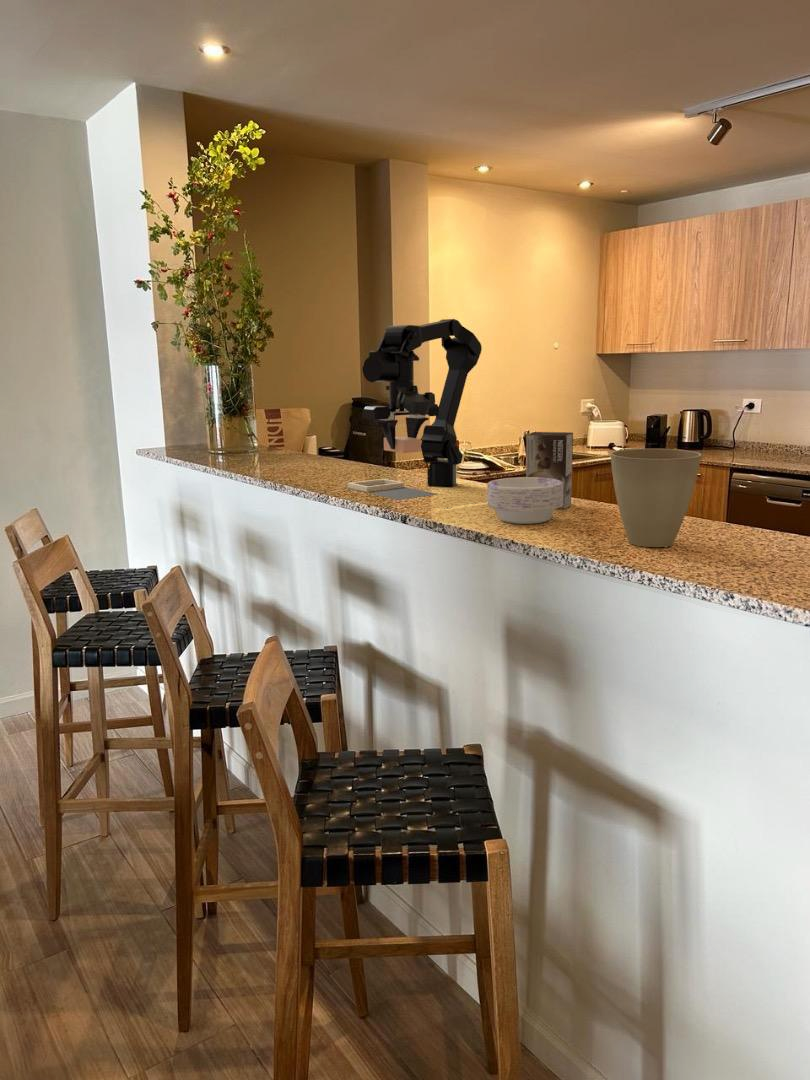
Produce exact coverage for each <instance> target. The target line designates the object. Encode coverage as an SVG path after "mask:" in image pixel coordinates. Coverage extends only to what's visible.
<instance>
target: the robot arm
mask: <svg viewBox="0 0 810 1080" xmlns="http://www.w3.org/2000/svg"><path fill="white" fill-rule="evenodd" d="M452 337H453V338H452ZM438 339H441V346H442V348H443V349H444V350H445V352H446V353H445V354H446V355H445V360H446V362H447V363H446V364H447V366H448V370H447V374H446V379H445V381H444V386H443V389H442V392H441V396H440V401H439V404H437V403H436V394H435V393H433V392H432V391H428V392H424V393H419V387H418V385H415V382H414V379H415V378H414V377H415V376H414V375H415V374H414V362H419V360H420V357H419V356H418V355H417V354H416V353H415V352H414V351H415V350H416V349H418V348H420V347H421V346H422V344H423V343H426V342H429V341H434V340H438ZM482 350H483V349H482V343H481V342H480V340H479V339H478V338H477V337H476V335H475V333H474V332H472V331H470V330H469V329H467V328H466V327H464V326H463V325H462V323H461V322H460V321H459V320H458V319H455V318H447V319H446V318H445V319H439V321H434V322H433V321H432V322H430V323H424V324H420V325H416V324H415V325H414V324H413V325H412V324H407V325H405V324H403V325H390V326H387V327H386V328H385V332H384V334H383V336H382V339H381V340H380V343H379V345H378V347H377V348H376V350H375V351H374V350H369V352H368V357H367V358H366V359H365V360H364V363H363V365H362V374H363V377H364V379H366V381H368V382H369V383H383V382H384V383H387V382H388V384H389V385H385V390H386V391H389V392H388V393H389V394H388V395H389V397H388V398H389V402H388V403H385V404H386V405H384V406H383V405H369V406H368V405H367V406H365V407H364V408H363V409H362V419H364V420H365V419H366V420H373V421H374V422H375V423H377V424H378V425H379V427H380V429H381V431H382V433H383V434H384V436H385V437H386V439H387V441H388V443H389V445H390V447H391V449H395V437H396V425H397V423H398V422H399V420H398V419H395V417H397V416H406V417H405V425H406V433H407V434H406V435H407V436H406V437H411V438H417V437H418V435H419V432H420V429H421V427H422V426H423V424H424V423H425V422H426V421H428V420H429V419H430V418H429V417H435V418H434V421H433V422H432V423H431V425H430V424H426V425H425V426H424V427H423V430H422V431H423V433H422V436H421V438H420V439H421V453H422V454H421V455H422V458H423V462H424V463H425V464H426V463H427V464H428V463H429V464H428V465H429V467H428V468H427V470H426V471H427V478H426V479H427V480H426V481H427V487H431V488H432V487H433V488H454V487H455V486H457V485H458V483H457V465H460V464H462V461H463V458H464V457H463V453H462V452H461V450H460V449H459V447H458V446H457V439H458V437H457V433H456V430H455V422H456V418H457V416H458V412H459V408H460V405H461V400H462V396H463V392H464V389H465V386H466V381H467V378H468V374H469V373H470V372H471V371H472V370H473V368H475V366H476V365H477V364H478V363H479V362H478V361H479V359H480V356H481V353H482ZM408 415H409V416H408ZM426 415H427V416H428V417H427V416H426ZM385 437H384V438H385Z"/></svg>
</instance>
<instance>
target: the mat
mask: <svg viewBox="0 0 810 1080" xmlns="http://www.w3.org/2000/svg"><path fill="white" fill-rule="evenodd" d="M343 488H345V489H349V490H354V491H358V492H362V493H366V494H370V495H375V496H379V497H384V498H388V499H391V500H397V501H400V500H409V499H415V498H416V499H418V498H423V497H431V496H436V495H437V496H438V495H439V493H434V492H431V491H426V490H422V489H416V488H410V487H405V483H404V482H403V481H397V480H392V479H389V478H380V479H379V478H378V479H371V480H363V481H352V482H348V483H347V486H343Z"/></svg>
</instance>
